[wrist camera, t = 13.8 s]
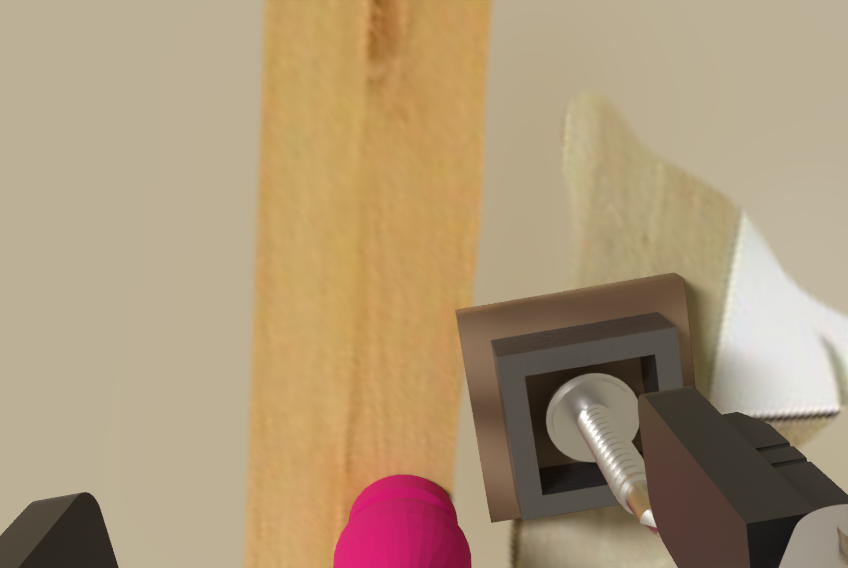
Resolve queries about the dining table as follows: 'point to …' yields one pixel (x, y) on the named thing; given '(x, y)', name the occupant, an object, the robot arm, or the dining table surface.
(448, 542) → the pepper mill
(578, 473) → the socket
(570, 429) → the screw
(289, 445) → the dining table surface
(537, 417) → the walnut board
